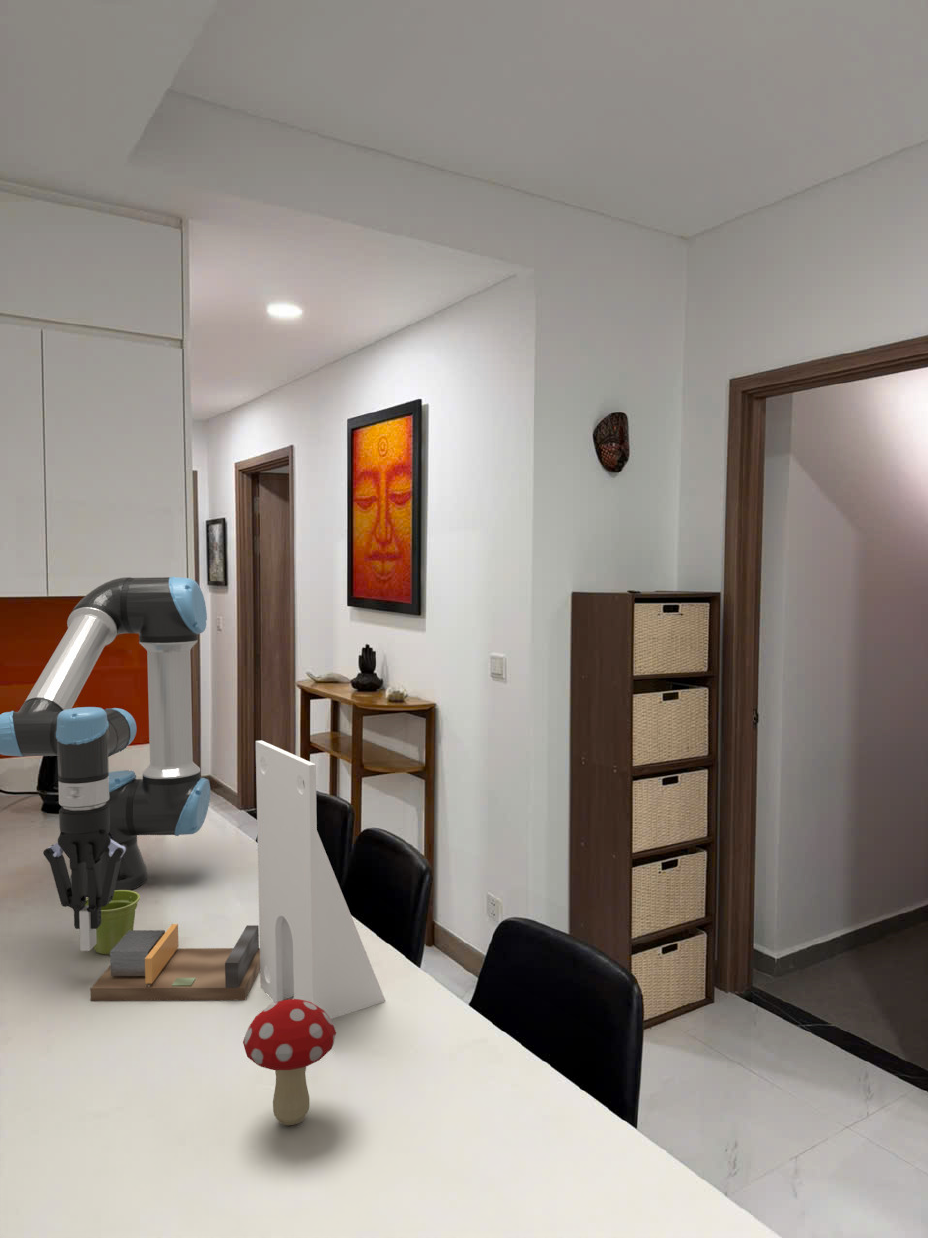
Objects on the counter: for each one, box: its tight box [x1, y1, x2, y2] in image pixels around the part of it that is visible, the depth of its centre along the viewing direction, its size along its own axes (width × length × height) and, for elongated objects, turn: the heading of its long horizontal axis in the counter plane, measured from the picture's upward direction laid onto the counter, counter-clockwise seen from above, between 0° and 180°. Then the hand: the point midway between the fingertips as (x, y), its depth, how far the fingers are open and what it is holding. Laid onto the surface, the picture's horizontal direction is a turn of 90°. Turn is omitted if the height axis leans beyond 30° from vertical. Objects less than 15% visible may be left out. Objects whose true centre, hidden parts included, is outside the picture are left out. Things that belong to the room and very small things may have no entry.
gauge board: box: [90, 924, 260, 1002], centre depth 145 cm, size 14×24×6 cm, turn 90°
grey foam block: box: [109, 929, 166, 976], centre depth 145 cm, size 8×6×4 cm
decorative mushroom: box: [242, 998, 337, 1126], centre depth 108 cm, size 11×11×15 cm
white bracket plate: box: [255, 740, 386, 1020], centre depth 137 cm, size 20×14×40 cm
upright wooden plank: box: [145, 923, 179, 983], centre depth 145 cm, size 13×1×4 cm, turn 0°
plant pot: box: [85, 890, 141, 955], centre depth 157 cm, size 9×9×9 cm
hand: (88, 947), depth 144 cm, fingers closed
